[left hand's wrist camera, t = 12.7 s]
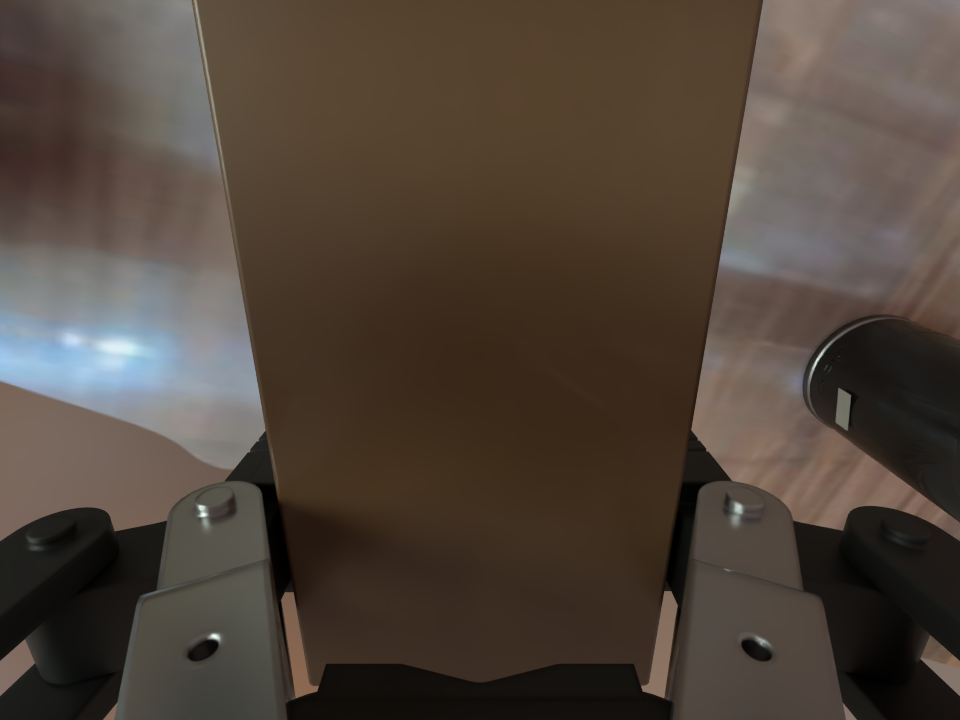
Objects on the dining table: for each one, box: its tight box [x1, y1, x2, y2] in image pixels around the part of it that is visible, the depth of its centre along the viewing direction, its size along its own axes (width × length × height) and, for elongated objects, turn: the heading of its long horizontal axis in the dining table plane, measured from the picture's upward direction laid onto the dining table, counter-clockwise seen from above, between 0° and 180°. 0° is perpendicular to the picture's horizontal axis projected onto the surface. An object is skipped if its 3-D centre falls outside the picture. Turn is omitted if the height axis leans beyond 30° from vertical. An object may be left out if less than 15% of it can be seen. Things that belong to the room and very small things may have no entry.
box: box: [192, 0, 763, 686], centre depth 9 cm, size 22×6×10 cm, turn 0°
